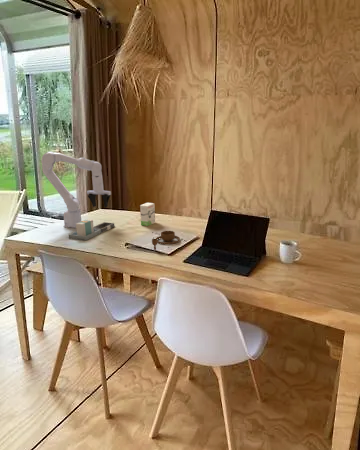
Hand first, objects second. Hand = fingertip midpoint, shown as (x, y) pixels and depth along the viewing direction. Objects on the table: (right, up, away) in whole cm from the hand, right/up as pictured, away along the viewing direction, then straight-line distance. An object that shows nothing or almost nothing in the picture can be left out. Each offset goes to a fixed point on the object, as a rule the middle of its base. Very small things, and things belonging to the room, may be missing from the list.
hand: (100, 206), depth 212 cm
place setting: (+37, -20, -31) cm, 52 cm away
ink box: (+28, -10, +2) cm, 29 cm away
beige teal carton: (-4, -16, -18) cm, 24 cm away
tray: (-4, -16, -18) cm, 24 cm away
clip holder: (+3, -13, -6) cm, 15 cm away
